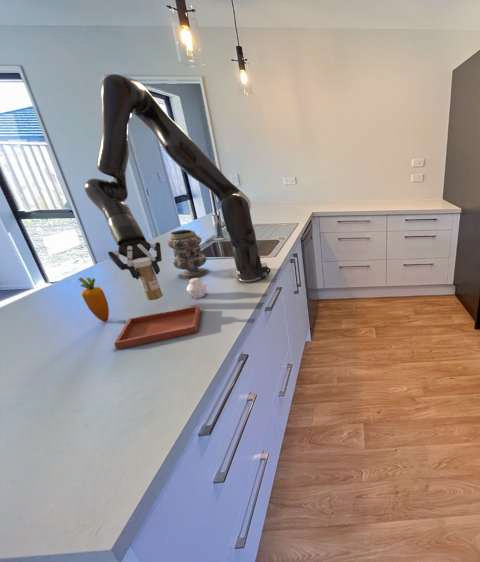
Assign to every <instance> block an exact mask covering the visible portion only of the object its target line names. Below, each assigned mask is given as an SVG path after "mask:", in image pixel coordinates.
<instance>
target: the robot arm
mask: <svg viewBox="0 0 480 562" xmlns="http://www.w3.org/2000/svg"><path fill="white" fill-rule="evenodd" d="M101 112H102V115H101V121H102V122H101V140H100V147H99V150H98V157H97V162H96V169H97V170H98V171H99V172H100V173H101V174H103V175H106V176H108V177H111V178H112V180H107V179H102V178H90V179H87V180H86V182H84V183H85V184H84V192H85V195H86V196H87V197H88V199H89V200H90V202H92V203H93V204H94V205H95V206H96V207H97V208H98V210H100V212H101V213H102V214H103V216H104V218H105V221H106V223H107V225H108V229H109V231H110V234H111V235H112V238H113V240H114V242H115V243H116V246H117V250H115V251H108V252H107V254H108V257H109V259H110V260H111V261H112V262H113V263H114V264H115V265H116V266H117V268H119V269H120V270H121V271H125V270H128V271H129V273H130V275H131V276H132V278H133V279H136V280H139V276H138V274H137V271H136V269H135V267H134V266H133V263H132V262H133V260H136V259H139V258H150V260H151V263H152V268H153V270H154V273H155V275H159V274H160V272H161V267H160V266H159V264H158V263H159V262H162V249H161V243H160V242H158V241H156V242H155V243H150V242H149V241H147V239H146V237H145V235H144V233H143V231H142V228H141V227H140V225H139V223H138V221H137V220H136V218H135V217H134V215H133V212H132V211H131V208H130V207H129V205H128V204H127V203H125V201H127V199H128V197H129V192H128V191H129V190H128V185H127V174H126V172H127V168H128V164H129V163H128V162H129V158H130V144H129V138H128V128H129V123H130V119H131V117H132V114H133V115H135V116H136V117H137V118H138V120H140V121H141V122H142V123H143V124H145V125H146V127H148V128H149V130H150V131H151V132H152V133H153V134H154V136H155V137H156V138H157V140H158V142H159V144H160V145H161V147H162V148H163V150H164V151H165V153H166V155H168V157H169V158H170V159H171V160H172V161H173V162H174V163H175V164H176V165H177V166H178V167H179V168H180V170H182V171H183V172H184V173H186V174H187V175H188V176H190V177H191V178H192V179H194V180H195V181H196V182H198V183H200V184H201V185H203V186H204V187H205V188H207V189H208V190H210V191H211V192H212V193H213V195H215V197H217V199H218V200H219V202H220V210H221V214H222V218H223V223H224V227H225V230H226V232H227V234H228V237H229V241H230V242H229V243H230V247H231V250H232V255H233V260H234V263H235V272H236V274H237V278H238V281H239V282H240V283H241V282H242V283H253V282H257V281H259V280H261V279H262V280H263V279H264V278H265V276H264V274H265V275H267V276H268V275H269V274H270V273H271V267H269V266H268V264H267V262H262V259H261V255H260V252H259V246H258V240H257V235H256V230H255V227H254V224H253V220H252V215H251V210H252V203H251V200H250V198H249V197H248V196H247V195H246V194H245V193H244V192H242V191H241V190H240V189H239V188H238V187H237V186H235V184H233V183H232V182H231V181H230V180H229V179H228V178H227V177H226V176H225V174H223V172H222V171H221V170H220V168H218V167H217V165H216V164H215V163H214V162H213V160H211V158H209V156H208V155H207V154H206V153H205V151H204V150H203V149H202V148H201V147H200V146H199V145H198V144H197V143H196V142H195V141H194V140H193V139H192V138H191V137H190V136H189V135H188V134H187V133H186V132H185V131H184V130H183V129H182V128H181V127H180V126H179V125H178V124H177V123H176V122H175V121H174V120H173V119H172V118H171V117H170V116H169V115H168V113H166V112H165V111H164V109H163V107H161V105H159V102H158V101H156V99H155V98H154V97H153V95H152V94H151V93H150V92H149V90H148V89H147V88H146V87H145V86H144V85H143V84H142V83H141V82H139V81H138V80H136V79H134V78H132V77H129V76H126V75H121V74H118V73H111V74H108V75H106V76H105V77H104V78H103V80H102V83H101ZM151 249H152V250H153V251H155V252H156V253H155V254H156V256H155V257H154V256H153V254H151V252H150V250H151ZM120 256H123V257H125V258H127V262H126V263H125V262H123V261H122V260H121V259H120Z"/></svg>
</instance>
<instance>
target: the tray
mask: <svg viewBox="0 0 480 562" xmlns="http://www.w3.org/2000/svg"><path fill="white" fill-rule="evenodd" d="M200 315H201V308H200V305H195V306H189V307H184V308H179V309H178V308H177V309H174V310H173V309H172V310H168V311H162V312H158V313H157V312H156V313H152V314H147V315H142V316H136V317H131V318H128V320H127V321H126V322H125V325H124V326H123V328H122V330H121V331H120V333H119V335H118V336H117V338H116V339H115V341H114V346H115V348H116V350H121V349H126V348H130V347H135V346H139V345H144V344H150V343H154V342H159V341H163V340H167V339H171V338H176V337H181V336H182V337H183V336H185V335H191V334H195V333H197V331H198V327H199V326H198V325H199V322H200Z"/></svg>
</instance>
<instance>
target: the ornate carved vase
mask: <svg viewBox="0 0 480 562" xmlns="http://www.w3.org/2000/svg"><path fill="white" fill-rule="evenodd" d="M166 243H167V246H168V247H169V248H171V249H172V251H173V256H174V258H173V261H172V265H173V267H175V268H176V269H179V270H184V271H183V272H181V273H180V275H179V277H180V278H183V279H193V278H198V277H200V276H203V275H205V274H207V272H208V270H207V269H205V268H201V267H202V266H204V265H205V264H206V262H207V256H206V255H205V254H203V253H202V249H201V246H200V244H201V243H202V237H201V236H200V235H198V234H197V233H196V231H195V230H193V229H179V230H174V231H171V232H170V233H169V239H168V240H167V242H166Z"/></svg>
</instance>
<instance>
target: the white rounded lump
mask: <svg viewBox="0 0 480 562" xmlns="http://www.w3.org/2000/svg"><path fill="white" fill-rule="evenodd" d="M207 287H208V285H207V284H206V282H204V281H202V280H201V279H200V278H199V277H193V278H190V280H189V282H188V285H187V287H186V291H187V293H188V294H190V295H191V297H193V298H194V299H200V298H203V297H204V296H205V295H206V291H207Z"/></svg>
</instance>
